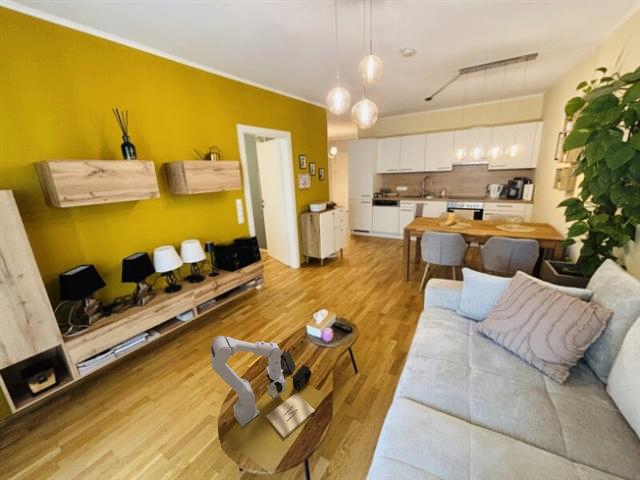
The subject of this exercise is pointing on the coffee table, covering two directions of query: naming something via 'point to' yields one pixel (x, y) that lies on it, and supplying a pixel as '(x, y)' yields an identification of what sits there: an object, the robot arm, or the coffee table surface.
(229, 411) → the coffee table surface
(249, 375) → the coffee table surface
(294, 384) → the digital camera
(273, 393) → the block
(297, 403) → the birch board
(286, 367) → the phone stand
